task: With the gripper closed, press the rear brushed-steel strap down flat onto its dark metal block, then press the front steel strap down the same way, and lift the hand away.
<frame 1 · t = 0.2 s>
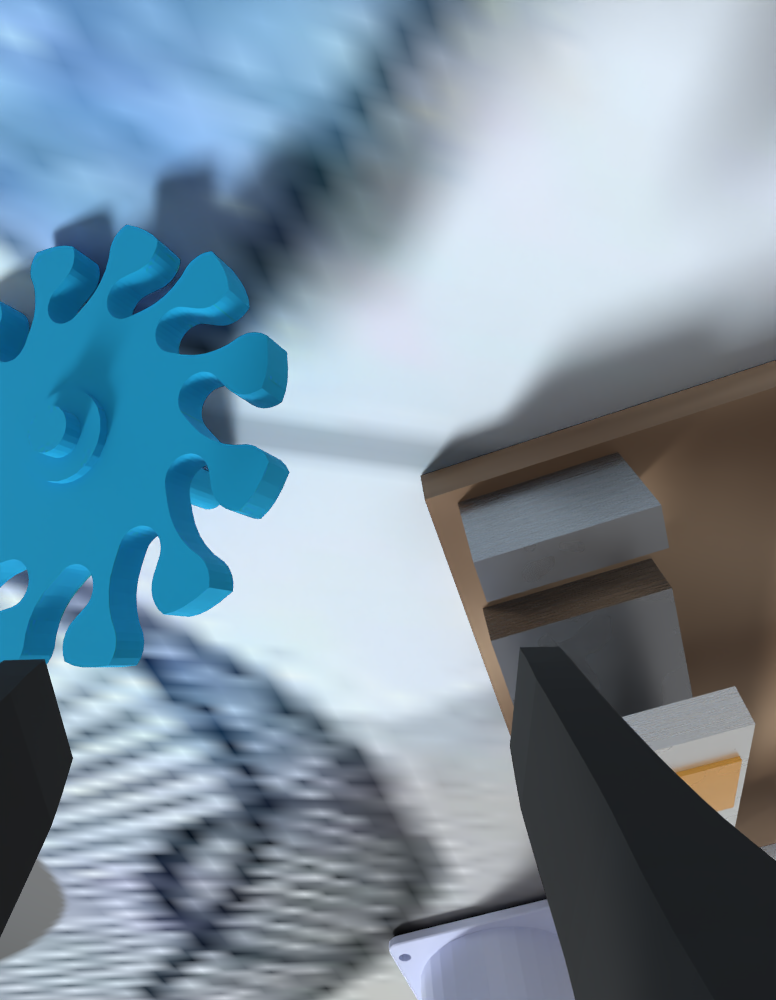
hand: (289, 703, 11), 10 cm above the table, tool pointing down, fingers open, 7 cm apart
gear: (119, 395, 19), on the table
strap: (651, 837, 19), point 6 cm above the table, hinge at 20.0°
board: (734, 632, 23), on the table
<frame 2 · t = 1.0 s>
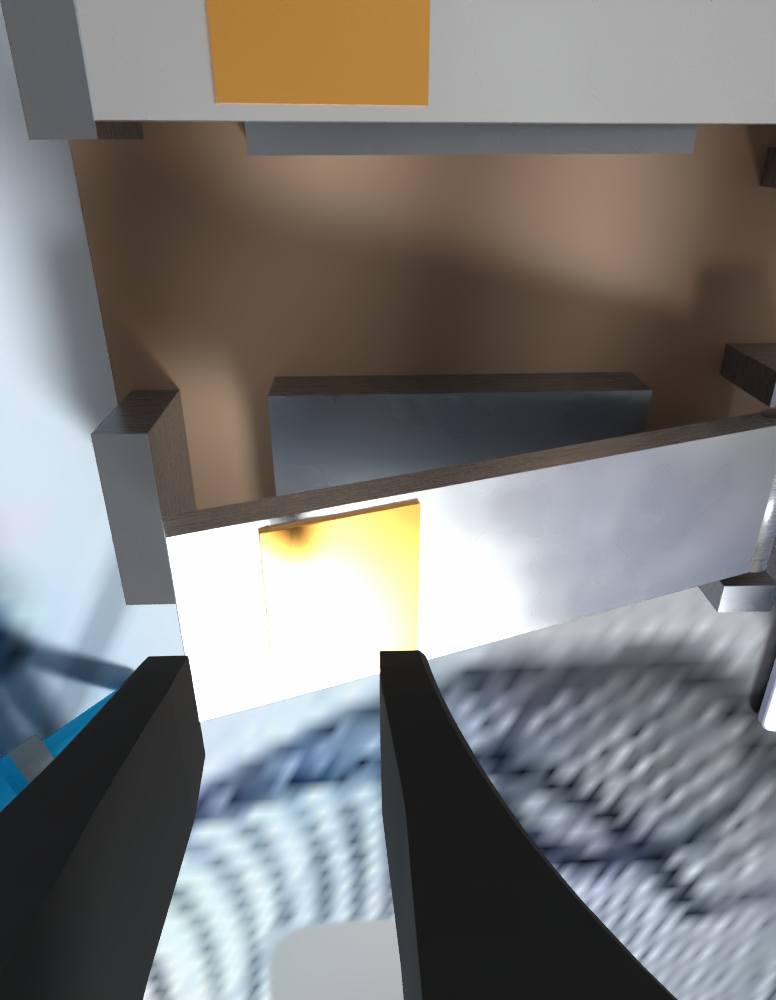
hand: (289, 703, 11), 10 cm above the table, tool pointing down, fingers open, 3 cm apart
gear: (53, 711, 25), on the table
hardware: (468, 282, 15), on the board, point 2 cm above the table
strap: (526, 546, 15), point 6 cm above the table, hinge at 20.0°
board: (470, 261, 18), on the table
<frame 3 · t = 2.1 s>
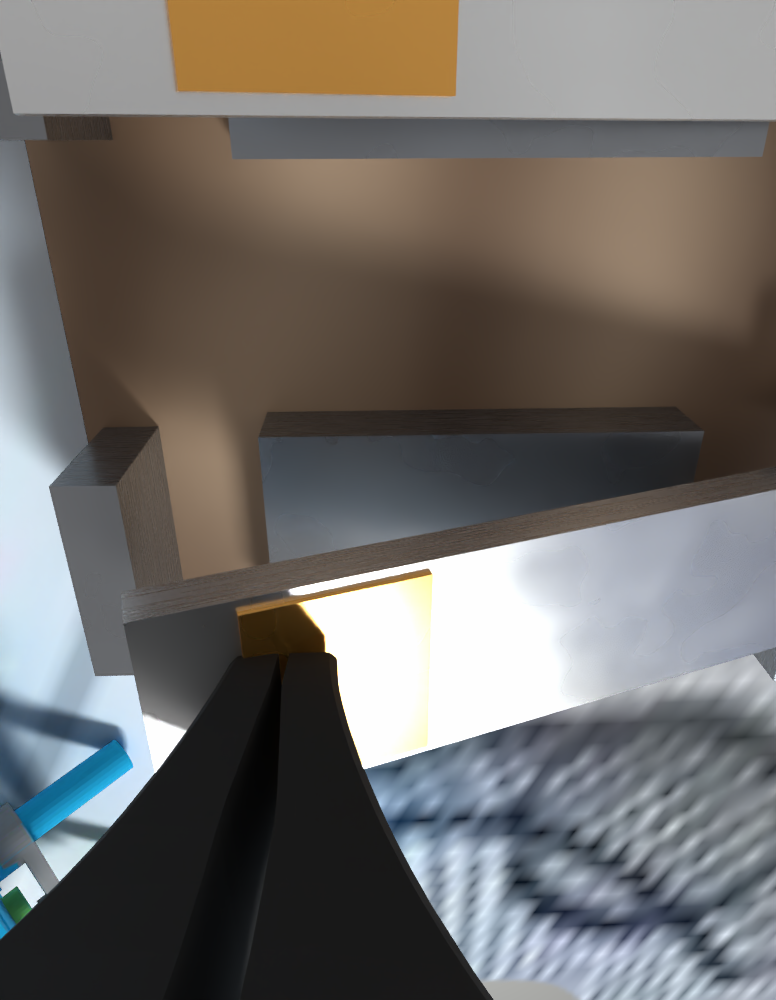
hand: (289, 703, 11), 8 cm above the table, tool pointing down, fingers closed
gear: (30, 769, 23), on the table
hardware: (493, 308, 13), on the board, point 3 cm above the table
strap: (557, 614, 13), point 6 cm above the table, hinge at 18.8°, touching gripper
board: (491, 279, 16), on the table
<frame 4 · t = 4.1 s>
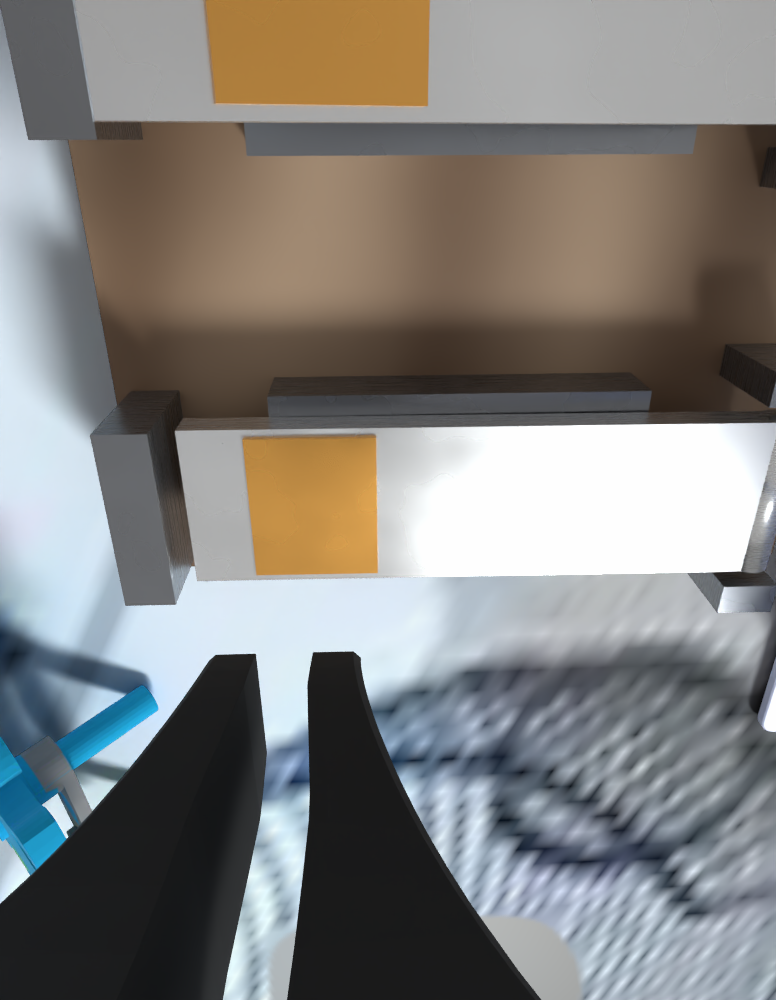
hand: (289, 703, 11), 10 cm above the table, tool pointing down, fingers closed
gear: (62, 712, 25), on the table
hardware: (468, 283, 15), on the board, point 3 cm above the table
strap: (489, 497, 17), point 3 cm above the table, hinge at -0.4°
board: (469, 261, 18), on the table
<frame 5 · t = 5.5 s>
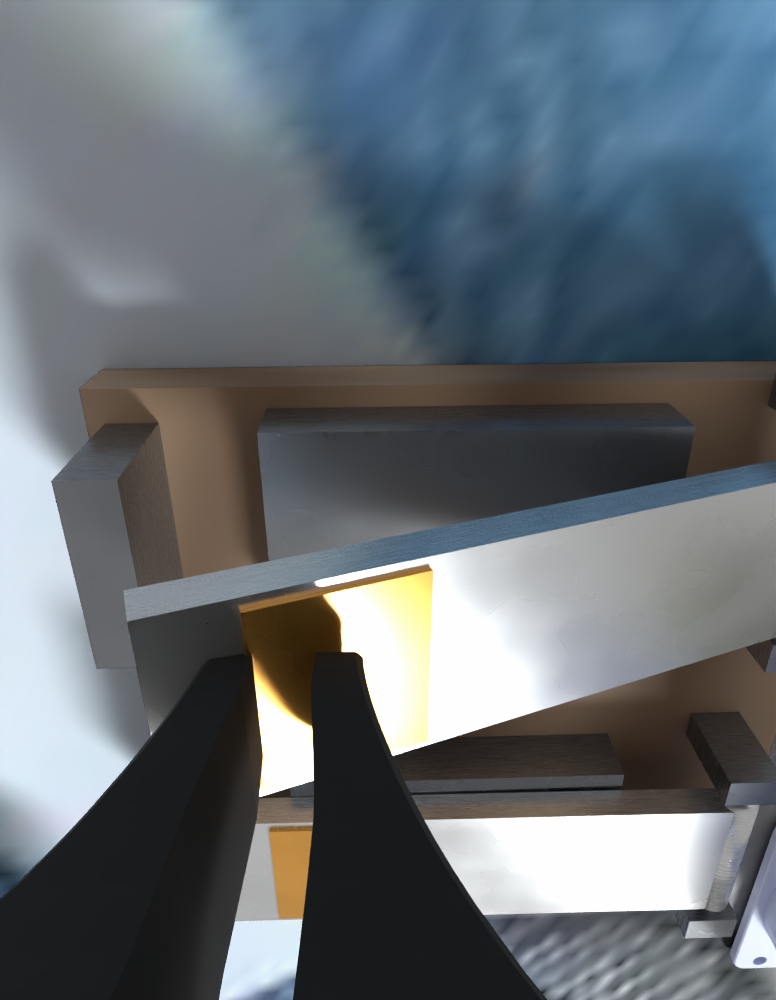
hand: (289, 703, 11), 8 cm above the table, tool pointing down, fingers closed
hardware: (464, 708, 18), on the board, point 3 cm above the table
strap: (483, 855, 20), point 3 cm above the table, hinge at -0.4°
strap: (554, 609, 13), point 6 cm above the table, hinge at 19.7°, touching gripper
board: (466, 634, 21), on the table
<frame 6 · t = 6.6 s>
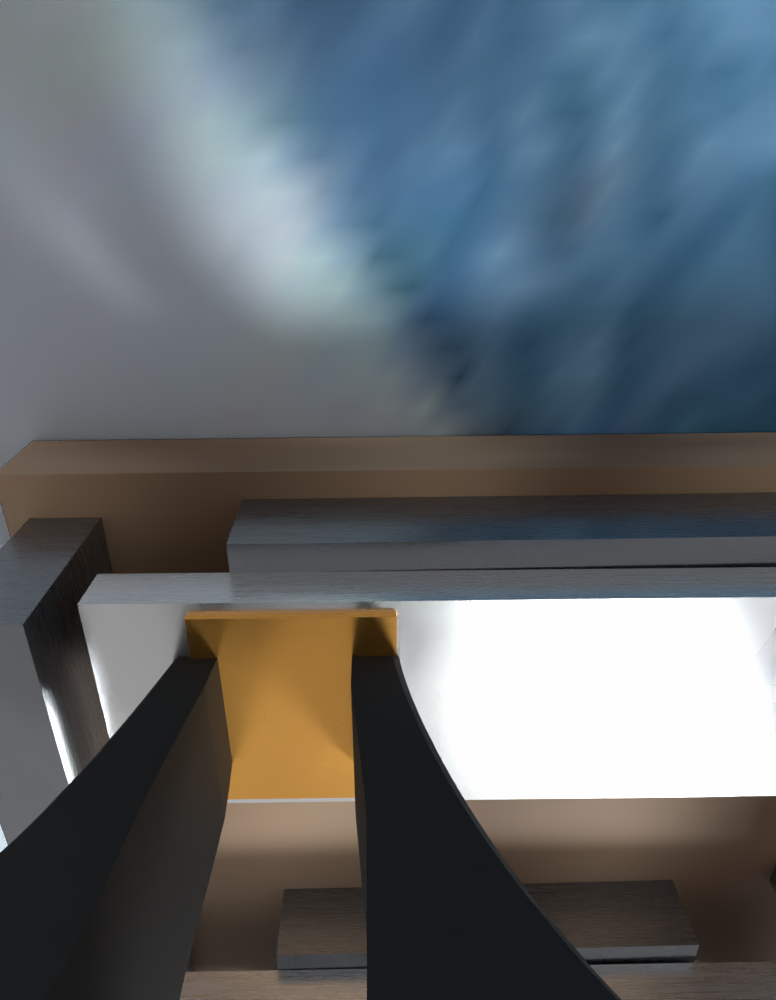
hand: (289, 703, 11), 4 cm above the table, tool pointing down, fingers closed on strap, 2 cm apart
hardware: (499, 872, 14), on the board, point 2 cm above the table
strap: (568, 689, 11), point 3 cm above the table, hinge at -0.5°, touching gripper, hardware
board: (497, 754, 17), on the table
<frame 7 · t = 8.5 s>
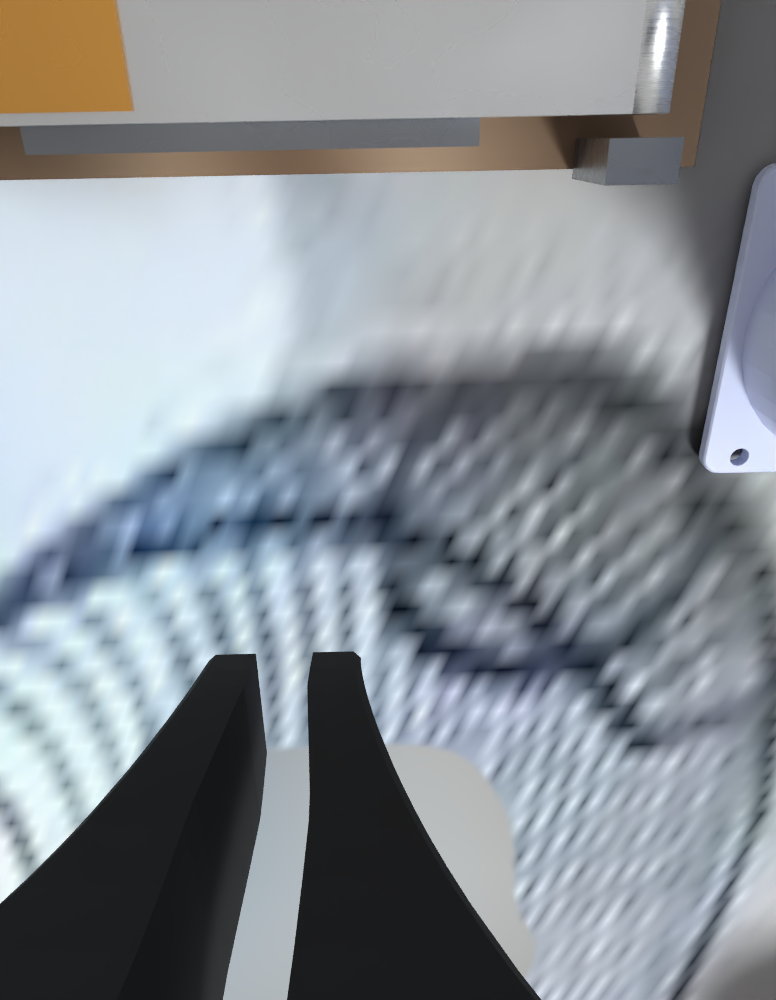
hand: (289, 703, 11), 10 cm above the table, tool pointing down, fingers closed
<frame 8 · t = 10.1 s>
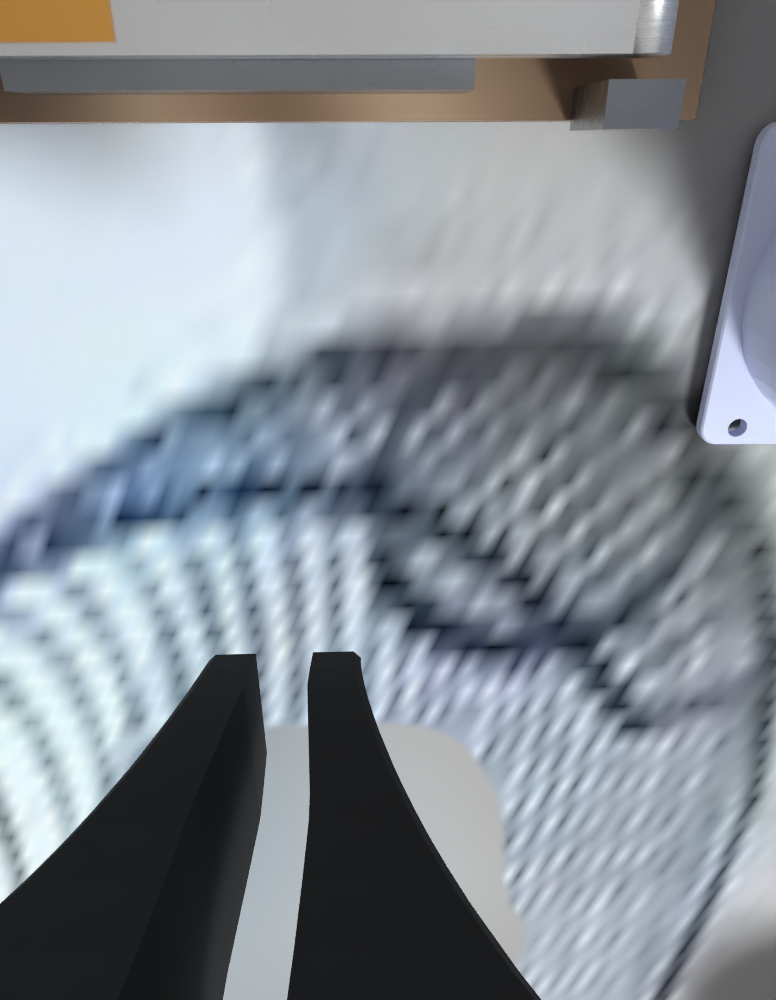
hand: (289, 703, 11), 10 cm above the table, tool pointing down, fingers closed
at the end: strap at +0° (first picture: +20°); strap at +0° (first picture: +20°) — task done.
